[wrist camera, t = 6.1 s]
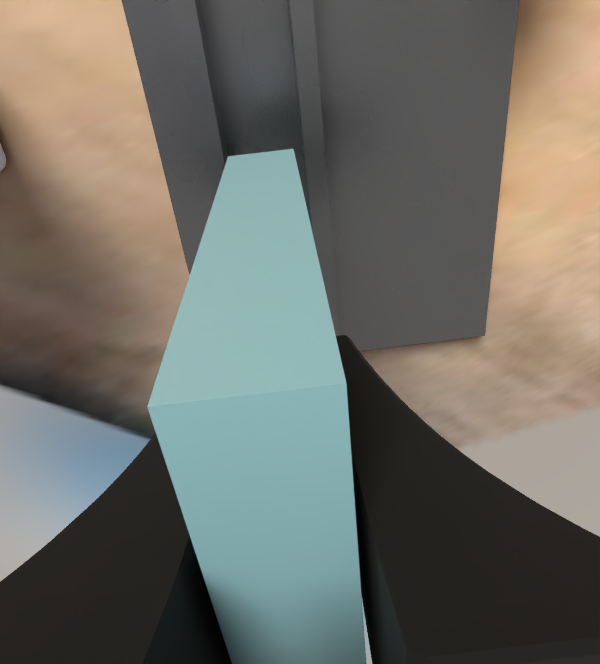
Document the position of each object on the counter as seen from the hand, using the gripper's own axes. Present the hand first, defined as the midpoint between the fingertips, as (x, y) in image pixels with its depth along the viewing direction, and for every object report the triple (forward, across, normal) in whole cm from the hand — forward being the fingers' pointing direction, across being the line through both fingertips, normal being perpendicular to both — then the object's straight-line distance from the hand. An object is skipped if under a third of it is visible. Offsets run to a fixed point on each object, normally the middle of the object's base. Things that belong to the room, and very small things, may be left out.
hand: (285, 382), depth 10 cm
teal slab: (+4, 0, 0) cm, 4 cm away
